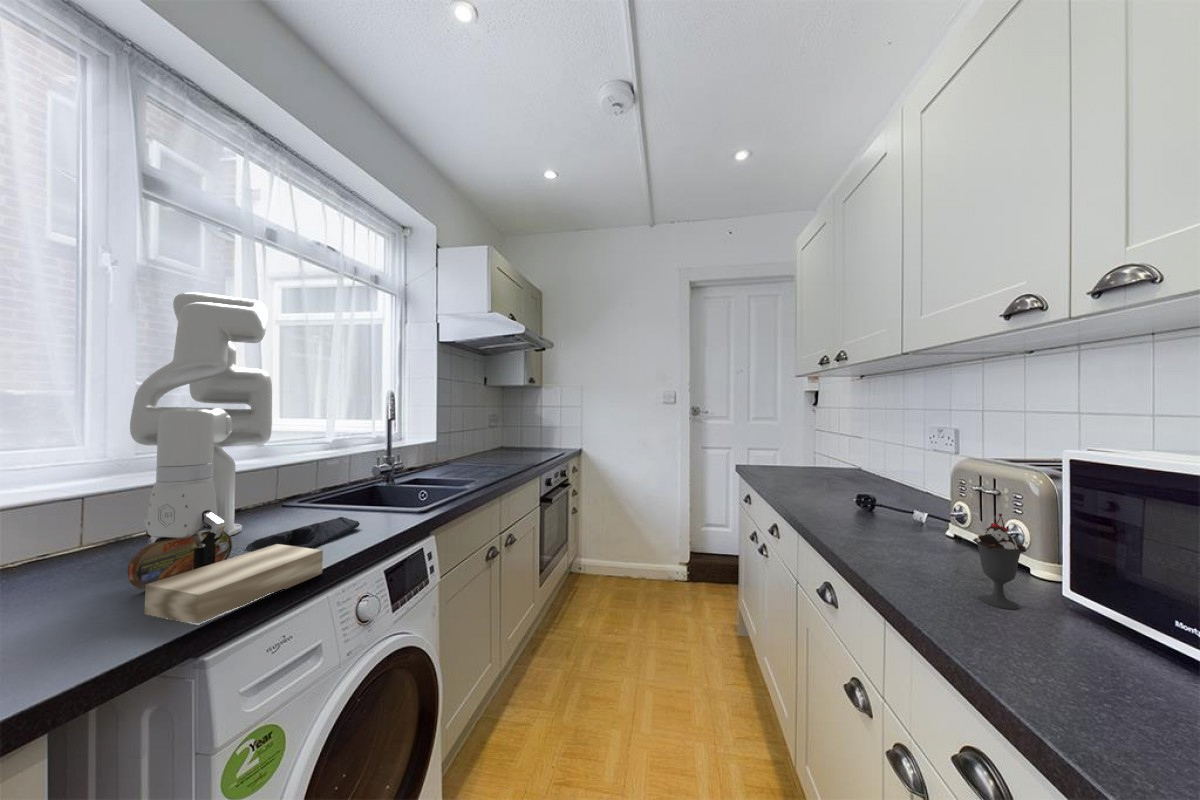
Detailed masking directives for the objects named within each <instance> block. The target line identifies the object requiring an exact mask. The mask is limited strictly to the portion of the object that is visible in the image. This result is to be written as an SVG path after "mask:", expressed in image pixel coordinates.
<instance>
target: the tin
mask: <svg viewBox="0 0 1200 800" xmlns="http://www.w3.org/2000/svg"><path fill="white" fill-rule="evenodd" d="M201 537H202V538H203V539H204V538H205V537H206V534H205V535H202V536H201ZM232 541H233V540H232V538H231V537H230V536H229V535H228V534H227V533H226V532H225V531H223V532H222V536H221V537H220V538H219V542H218V543H217V544H216V550H215V563H217V562H220V561H223V560H227V559H229V557H230V555H231V553H232V552H231V551H232V550H233V549H232V547H233V543H232ZM194 548H198V547H197V545H196V544H195V542H194V540H193V539H192V537H189V538H186V539H176V538H171V539H167V540H163V541H159V542H155V543H152V544H148V545H146V546H145V547H142V548H141V549H140V550H138V552H137V553H135V554H134V556H133V557H132V558H131V560H130V561H129V564H128V569H127V578H128V580H129V583H130V584H132V586H134V587H136V588H137V589H141V590H145V585H146V584H149V583H152V582H156V581H159V580H162V579H165V578H169V577H172V576H175V575H178V574H181V573H185V572H188V571H191V570H194V568H193V567H194Z"/></svg>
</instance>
